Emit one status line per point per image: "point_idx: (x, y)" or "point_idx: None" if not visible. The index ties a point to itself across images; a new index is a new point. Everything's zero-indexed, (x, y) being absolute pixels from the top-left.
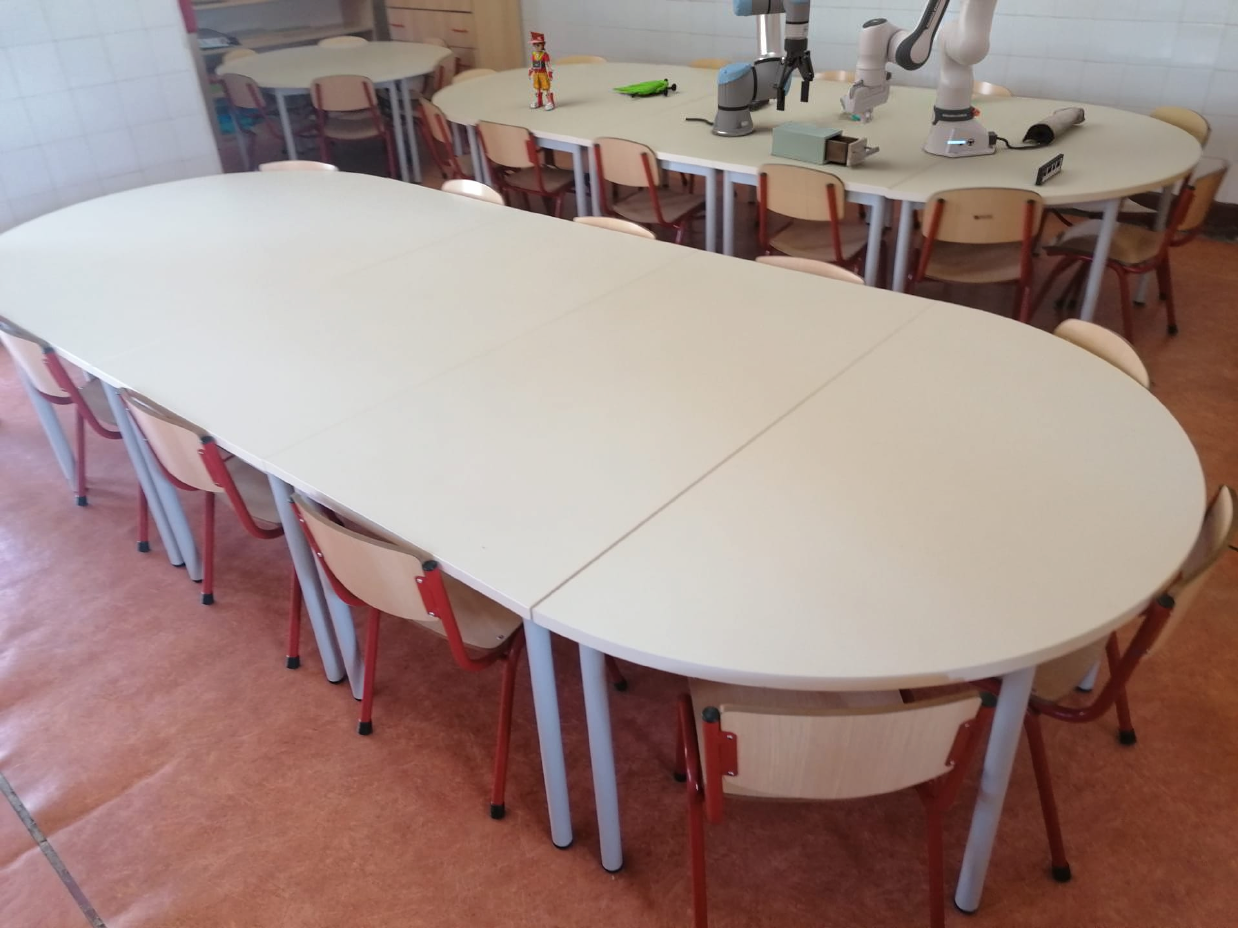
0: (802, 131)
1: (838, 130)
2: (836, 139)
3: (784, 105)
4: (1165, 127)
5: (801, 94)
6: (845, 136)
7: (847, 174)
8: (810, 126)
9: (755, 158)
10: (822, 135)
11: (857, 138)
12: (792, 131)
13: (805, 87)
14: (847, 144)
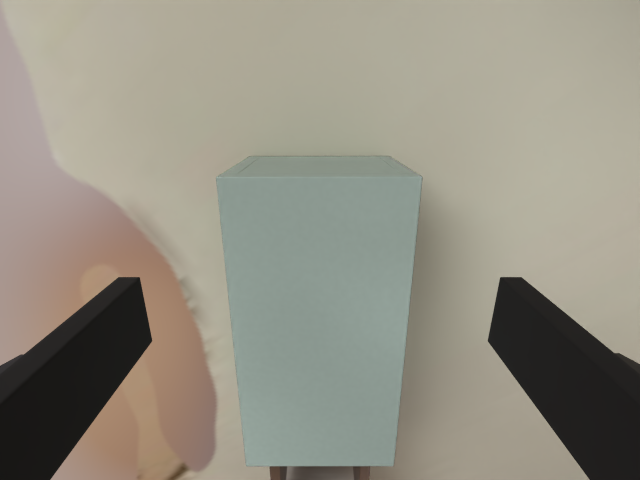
0: (266, 350)
1: (378, 459)
2: None
3: (124, 372)
4: None
5: (538, 322)
6: (362, 475)
7: (234, 468)
8: (374, 332)
9: (159, 126)
10: (265, 448)
11: None
12: (232, 311)
13: (585, 428)
14: None
